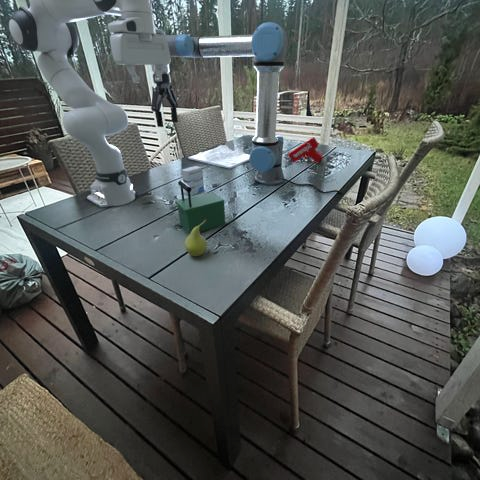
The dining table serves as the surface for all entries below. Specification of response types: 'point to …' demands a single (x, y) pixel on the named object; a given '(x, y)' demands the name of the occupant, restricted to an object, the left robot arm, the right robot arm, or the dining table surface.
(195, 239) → the fruit
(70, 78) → the left robot arm
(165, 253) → the dining table surface
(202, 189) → the ink box
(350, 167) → the dining table surface
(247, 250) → the dining table surface
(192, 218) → the chest
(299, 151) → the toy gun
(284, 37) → the right robot arm
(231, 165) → the relief map
